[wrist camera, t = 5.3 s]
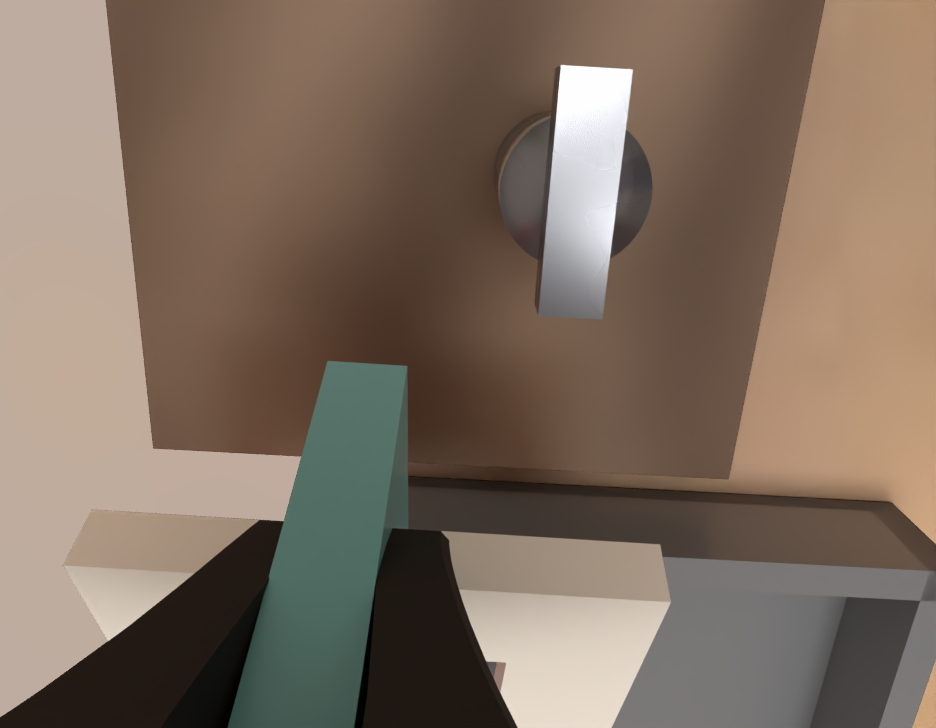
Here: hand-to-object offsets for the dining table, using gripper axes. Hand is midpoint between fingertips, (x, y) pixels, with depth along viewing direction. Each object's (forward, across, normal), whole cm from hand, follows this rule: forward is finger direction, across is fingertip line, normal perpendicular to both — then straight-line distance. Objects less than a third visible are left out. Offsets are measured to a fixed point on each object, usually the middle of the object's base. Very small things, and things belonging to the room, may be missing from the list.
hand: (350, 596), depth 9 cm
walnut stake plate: (+9, -1, -3) cm, 10 cm away
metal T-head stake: (+8, -3, -4) cm, 10 cm away
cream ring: (+4, 0, +3) cm, 5 cm away
